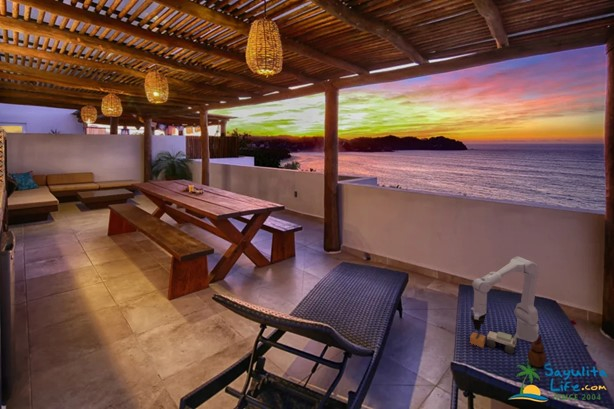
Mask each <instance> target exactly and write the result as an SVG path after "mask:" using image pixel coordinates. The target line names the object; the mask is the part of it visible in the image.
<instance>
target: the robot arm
mask: <svg viewBox="0 0 614 409" xmlns="http://www.w3.org/2000/svg"><path fill="white" fill-rule="evenodd" d="M538 269H539V265H538V264H537V263H535V262H534V261H531V260H528V259H526V258H524V257H521V256H519V255H517V256H515V257H513V258H511V259H510V261H509V262H508V264H506V265H505V266H503V267H501V268H500V269H499V270H497V271H490V272H488V274H486V275H484V276H482V277H480V278H475V279H474V280H473V281H472V283H471V287H472V288H473V292H474V293H473V306H472V307H470V310H471V311H473V314H474V315H473V314H471V315H470V319H471V320H472V323H473V326H474V330H476V331H481V326H482V325H483V324H484V322H485V319H486V315H487V314H488V313H489V310H487V301H488V293H489V292H490V290H491V288H492V287H494V286H495V285H497V284H498V283H500V282H501V281H502V278H504V277H506V276H508V275H510V274H512V273H515V272H517V273H522V274H523V275H524V277H523V284H522V290H521V291H522V292H521V299H520V300H521V301H520V302H519V303H516V307H515V309H514V310H513V311H514V312H513V313H514V315H515V316H516V319H517V323H516V332H515V334H514V335H516V336H517V339H520V340H523V341H526V342H530V343H532V342H534V341H536V340H537V339H538V336H539V337H540V335H539V326H540V325H539V324H538V321H539V316H538V314H539V313H538V310H537V308H536V307H535V306H534V304H535V297H536V291H537V282H538V276H539V275H538V274H539V272H538Z"/></svg>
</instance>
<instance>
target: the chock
mask: <svg viewBox="0 0 614 409" xmlns="http://www.w3.org/2000/svg"><path fill="white" fill-rule="evenodd" d="M469 338H470V339H469V344H470V343H471V344H470V345H473V344H474V345H473V346H476V345H477V347H480V348H481V349H483V348H484V346H485V345H486V339H487V335H483V334H481V333H477V332H474V331H473V332H472V334H471V335H470V336H469Z"/></svg>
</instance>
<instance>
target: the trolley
mask: <svg viewBox="0 0 614 409" xmlns="http://www.w3.org/2000/svg"><path fill="white" fill-rule="evenodd" d="M486 339H487V341H485V345H486V346H487V347H489V348H490V349H495V347H497V346H496V345H497V344H496V342H497V343H500V344H503V345H505V346H504V352H505V353H506V354H508V355H513V354H514V353H515V347H517V340H518V338H517V336H516V335H515V334H514V335H513V334H510V333H506V332H503V331H497V332H494V331H491V330H489V332H488V334H487V335H486Z"/></svg>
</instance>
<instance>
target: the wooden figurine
mask: <svg viewBox="0 0 614 409" xmlns="http://www.w3.org/2000/svg"><path fill="white" fill-rule="evenodd" d="M530 345H531V346H530V347H531V348H530V349H529V350H528V351H527V360H528V362H529V364H530V365H531V366H532V367H535V368H542V367H543V366H545V364H546V360H547V355H546V353H545V346H544V344H543V343H542V334H540V335H539V336H538V339H537V340H536V341H534V342H531V344H530Z"/></svg>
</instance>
